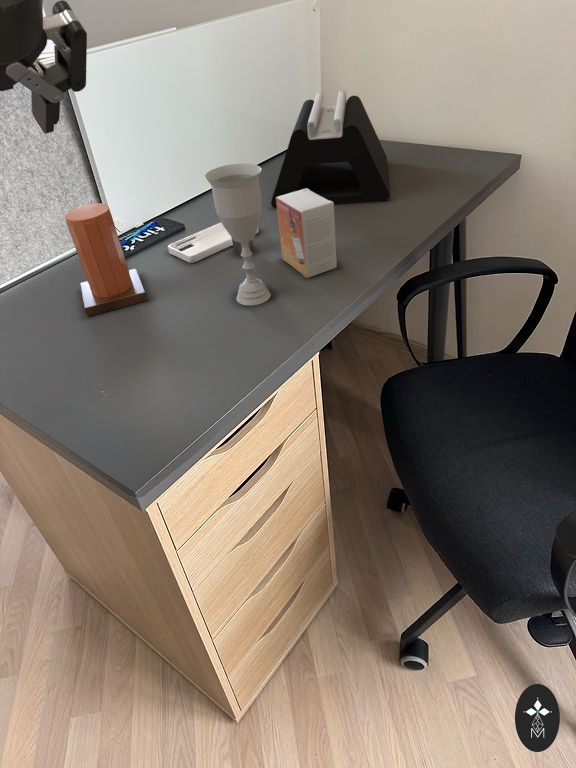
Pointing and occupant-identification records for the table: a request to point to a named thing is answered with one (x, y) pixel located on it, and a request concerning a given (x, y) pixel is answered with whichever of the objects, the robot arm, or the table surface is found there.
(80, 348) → the table surface
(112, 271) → the cup
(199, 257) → the phone case
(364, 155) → the device stand
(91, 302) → the stand
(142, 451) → the table surface
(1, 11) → the robot arm
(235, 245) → the milkshake
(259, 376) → the table surface
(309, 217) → the small box
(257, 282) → the chalice
